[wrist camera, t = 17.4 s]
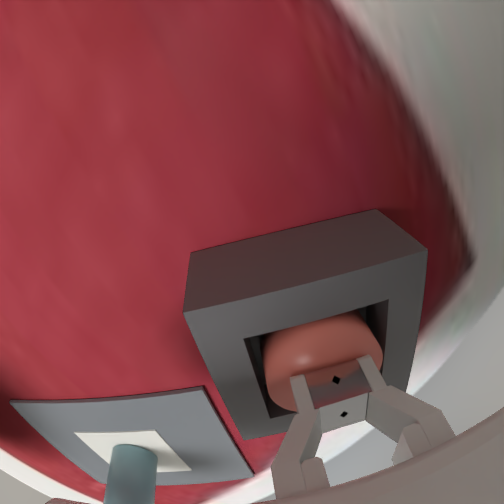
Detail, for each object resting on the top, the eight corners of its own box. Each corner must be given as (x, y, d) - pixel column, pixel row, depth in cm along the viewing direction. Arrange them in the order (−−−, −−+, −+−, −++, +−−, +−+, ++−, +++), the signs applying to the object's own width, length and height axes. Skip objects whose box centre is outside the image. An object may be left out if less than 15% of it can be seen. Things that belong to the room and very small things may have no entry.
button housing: (237, 379, 16) (243, 440, 13) (190, 252, 13) (182, 312, 9) (375, 342, 16) (405, 393, 13) (376, 208, 13) (427, 249, 9)
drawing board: (100, 480, 23) (100, 484, 22) (10, 399, 16) (8, 403, 16) (253, 474, 23) (254, 477, 22) (202, 386, 16) (202, 391, 16)
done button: (270, 386, 13) (277, 421, 12) (249, 314, 11) (255, 352, 10) (362, 361, 13) (378, 392, 12) (363, 284, 11) (386, 316, 10)
